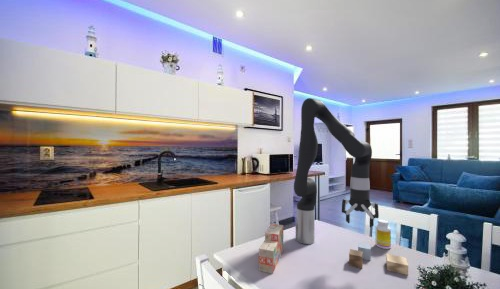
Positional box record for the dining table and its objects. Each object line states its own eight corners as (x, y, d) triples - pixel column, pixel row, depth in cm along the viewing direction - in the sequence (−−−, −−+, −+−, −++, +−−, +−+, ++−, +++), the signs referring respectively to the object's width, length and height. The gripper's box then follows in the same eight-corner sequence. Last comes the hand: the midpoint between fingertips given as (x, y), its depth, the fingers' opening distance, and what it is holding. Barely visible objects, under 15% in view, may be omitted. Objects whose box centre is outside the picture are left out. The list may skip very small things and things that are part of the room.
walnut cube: (349, 265, 92) (349, 253, 92) (350, 260, 96) (350, 248, 96) (362, 268, 89) (362, 256, 89) (362, 263, 94) (362, 251, 94)
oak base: (387, 270, 89) (387, 260, 89) (386, 262, 95) (386, 253, 95) (408, 275, 85) (408, 265, 85) (405, 267, 91) (405, 257, 91)
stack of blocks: (273, 274, 86) (273, 243, 86) (258, 271, 88) (258, 241, 88) (283, 249, 106) (283, 224, 106) (271, 247, 108) (271, 223, 108)
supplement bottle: (393, 250, 105) (393, 223, 105) (378, 248, 107) (378, 222, 107) (387, 244, 112) (387, 219, 112) (373, 242, 113) (373, 218, 113)
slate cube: (358, 257, 98) (358, 246, 98) (358, 253, 103) (358, 242, 103) (370, 260, 96) (370, 249, 96) (370, 255, 100) (370, 244, 100)
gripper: (340, 187, 94) (340, 224, 94) (378, 191, 87) (378, 231, 87) (343, 184, 100) (343, 219, 100) (378, 187, 93) (378, 225, 93)
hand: (359, 224), depth 93 cm, fingers open, 8 cm apart
